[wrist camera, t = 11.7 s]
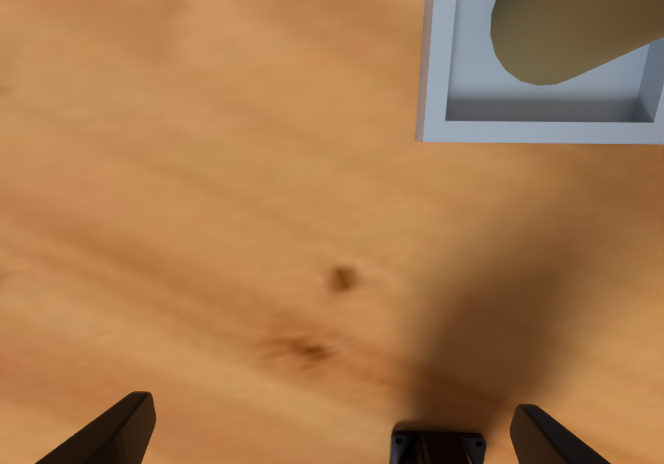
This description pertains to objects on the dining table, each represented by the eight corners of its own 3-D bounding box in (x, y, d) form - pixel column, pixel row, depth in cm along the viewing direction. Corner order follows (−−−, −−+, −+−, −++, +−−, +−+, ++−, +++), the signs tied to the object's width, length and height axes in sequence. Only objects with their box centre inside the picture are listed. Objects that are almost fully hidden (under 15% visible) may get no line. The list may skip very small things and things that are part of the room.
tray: (637, 142, 19) (669, 144, 17) (415, 140, 20) (422, 142, 18) (703, -132, 16) (752, -168, 14) (434, -129, 16) (446, -163, 14)
